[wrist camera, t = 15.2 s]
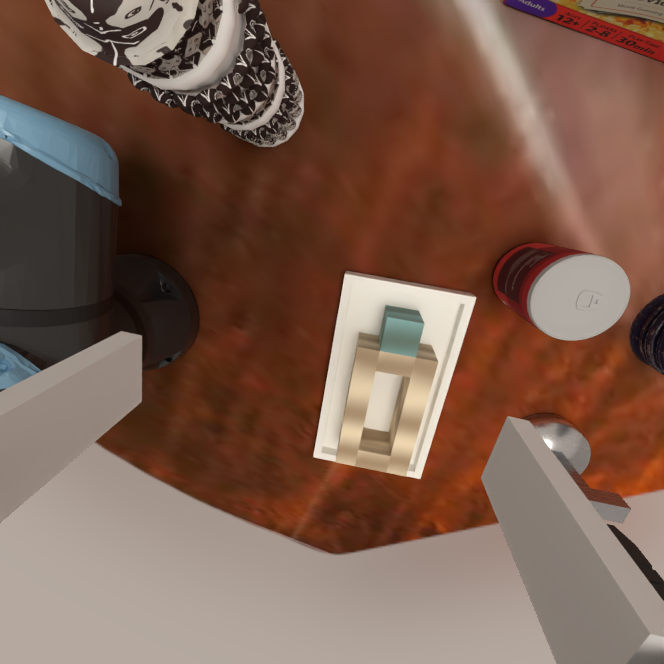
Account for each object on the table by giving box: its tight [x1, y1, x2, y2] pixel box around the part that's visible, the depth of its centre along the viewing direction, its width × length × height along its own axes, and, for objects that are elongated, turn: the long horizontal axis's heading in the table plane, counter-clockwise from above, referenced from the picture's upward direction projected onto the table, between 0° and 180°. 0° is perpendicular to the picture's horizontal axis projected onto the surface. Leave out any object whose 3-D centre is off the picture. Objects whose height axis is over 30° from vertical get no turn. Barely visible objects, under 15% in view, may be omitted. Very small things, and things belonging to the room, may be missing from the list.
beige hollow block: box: [336, 305, 438, 476], centre depth 43 cm, size 20×9×5 cm, turn 171°
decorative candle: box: [45, 0, 304, 147], centre depth 26 cm, size 9×9×25 cm
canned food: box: [493, 243, 630, 341], centre depth 35 cm, size 8×8×11 cm
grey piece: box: [523, 413, 631, 523], centre depth 42 cm, size 9×9×11 cm
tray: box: [313, 271, 476, 479], centre depth 46 cm, size 15×26×2 cm, turn 171°
